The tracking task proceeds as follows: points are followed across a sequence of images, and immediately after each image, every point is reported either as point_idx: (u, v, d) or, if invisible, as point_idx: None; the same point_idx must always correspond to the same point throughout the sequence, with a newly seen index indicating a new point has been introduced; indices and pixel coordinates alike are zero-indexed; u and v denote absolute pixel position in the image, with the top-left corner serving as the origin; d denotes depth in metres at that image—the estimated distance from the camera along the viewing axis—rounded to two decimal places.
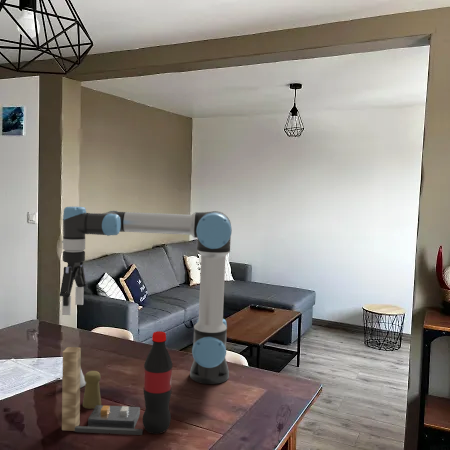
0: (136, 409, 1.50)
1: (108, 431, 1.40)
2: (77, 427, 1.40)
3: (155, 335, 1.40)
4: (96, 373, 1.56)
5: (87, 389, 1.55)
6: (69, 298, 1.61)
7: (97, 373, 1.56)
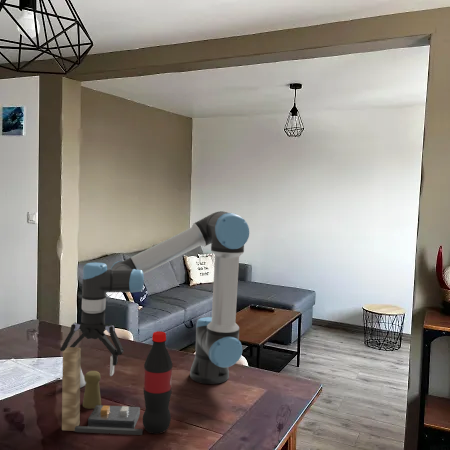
0: (136, 409, 1.50)
1: (108, 431, 1.40)
2: (77, 427, 1.40)
3: (155, 335, 1.40)
4: (96, 373, 1.56)
5: (87, 389, 1.55)
6: None
7: (97, 373, 1.56)
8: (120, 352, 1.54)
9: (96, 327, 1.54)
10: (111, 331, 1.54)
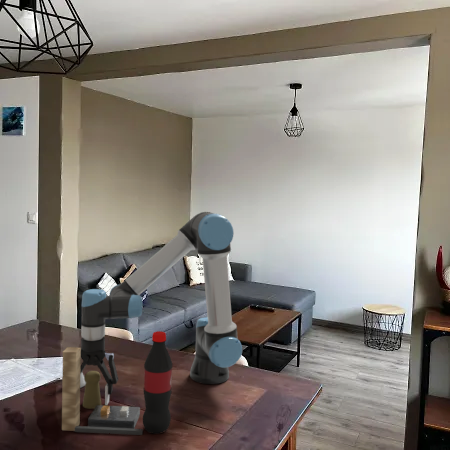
0: (136, 409, 1.50)
1: (108, 431, 1.40)
2: (77, 427, 1.40)
3: (155, 335, 1.40)
4: (96, 373, 1.56)
5: (87, 389, 1.55)
6: None
7: (97, 373, 1.56)
8: (115, 381, 1.55)
9: (96, 353, 1.55)
10: (110, 359, 1.55)
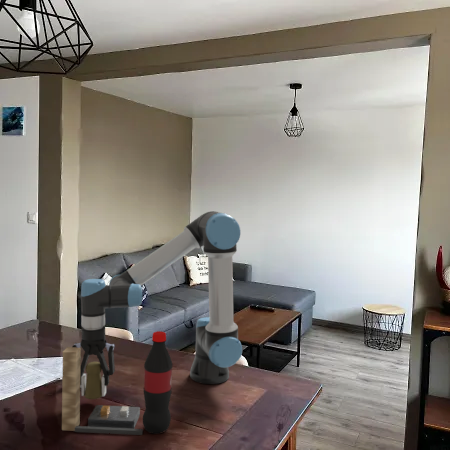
0: (136, 409, 1.50)
1: (108, 431, 1.40)
2: (77, 427, 1.40)
3: (155, 335, 1.40)
4: (97, 364, 1.56)
5: (88, 379, 1.55)
6: None
7: (98, 364, 1.56)
8: (111, 373, 1.55)
9: (97, 341, 1.54)
10: (110, 350, 1.55)
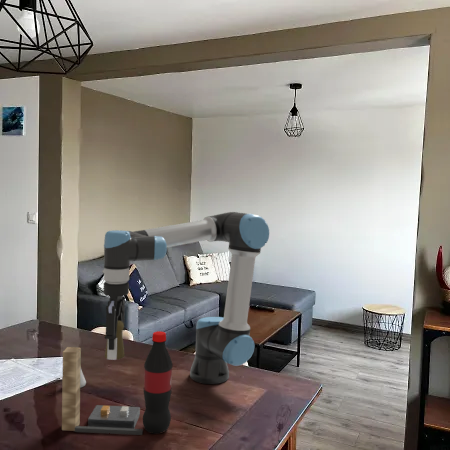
0: (136, 409, 1.50)
1: (108, 431, 1.40)
2: (77, 427, 1.40)
3: (155, 335, 1.40)
4: None
5: (120, 338, 1.44)
6: (115, 341, 1.42)
7: None
8: (124, 324, 1.52)
9: (121, 295, 1.46)
10: (124, 301, 1.51)
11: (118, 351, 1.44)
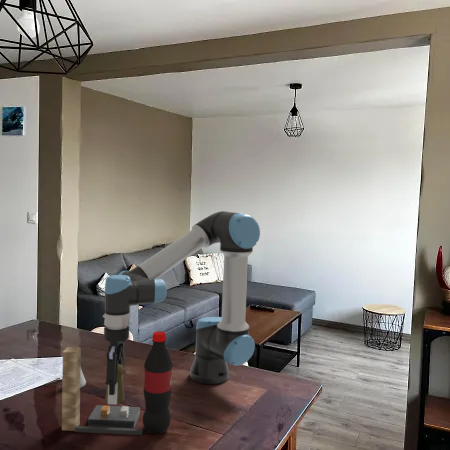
0: (136, 409, 1.50)
1: (108, 431, 1.40)
2: (77, 427, 1.40)
3: (155, 335, 1.40)
4: None
5: (120, 382, 1.45)
6: (115, 386, 1.43)
7: None
8: None
9: None
10: (124, 343, 1.51)
11: (118, 395, 1.45)
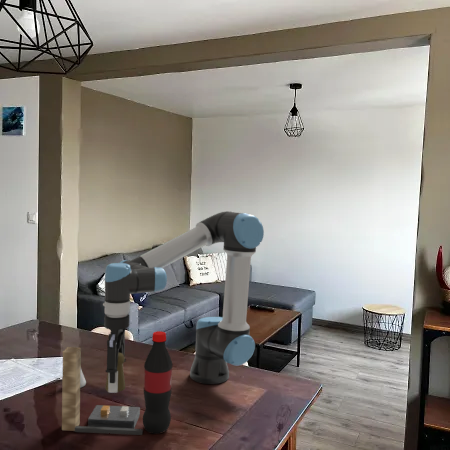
0: (136, 409, 1.50)
1: (108, 431, 1.40)
2: (77, 427, 1.40)
3: (155, 335, 1.40)
4: None
5: (121, 370, 1.45)
6: (116, 374, 1.42)
7: None
8: (124, 355, 1.52)
9: None
10: (124, 332, 1.51)
11: (119, 384, 1.44)
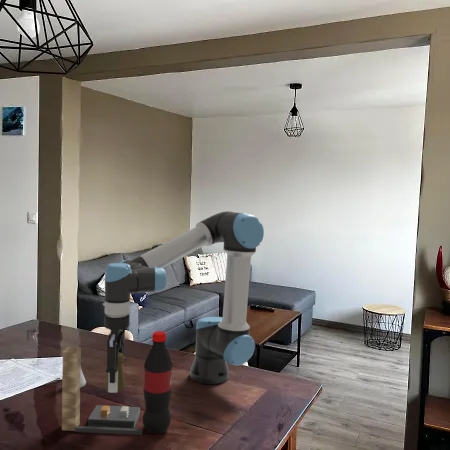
0: (136, 409, 1.50)
1: (108, 431, 1.40)
2: (77, 427, 1.40)
3: (155, 335, 1.40)
4: None
5: (121, 370, 1.45)
6: (116, 374, 1.42)
7: None
8: (124, 354, 1.52)
9: None
10: (124, 332, 1.51)
11: (119, 384, 1.44)
